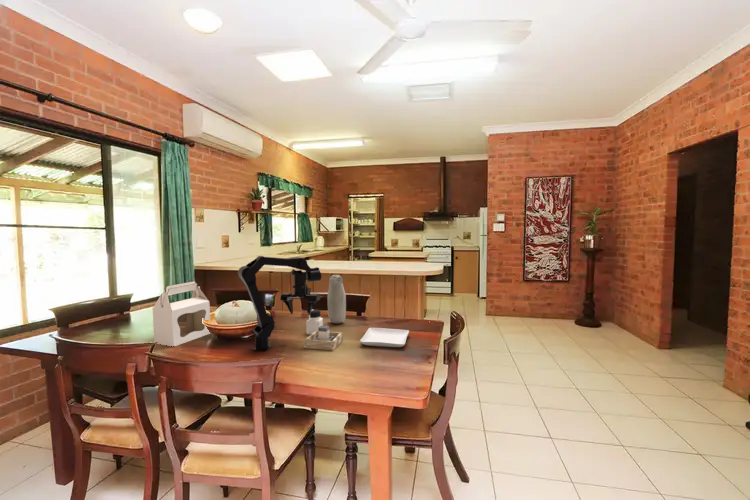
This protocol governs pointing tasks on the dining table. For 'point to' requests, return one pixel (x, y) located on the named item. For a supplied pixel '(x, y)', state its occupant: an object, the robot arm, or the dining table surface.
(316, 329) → the medicine bottle
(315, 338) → the socket box
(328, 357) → the dining table surface
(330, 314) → the tall grey vase
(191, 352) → the dining table surface
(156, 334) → the gable box
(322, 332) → the grey rectangular prism
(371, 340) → the salad plate
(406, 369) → the dining table surface
